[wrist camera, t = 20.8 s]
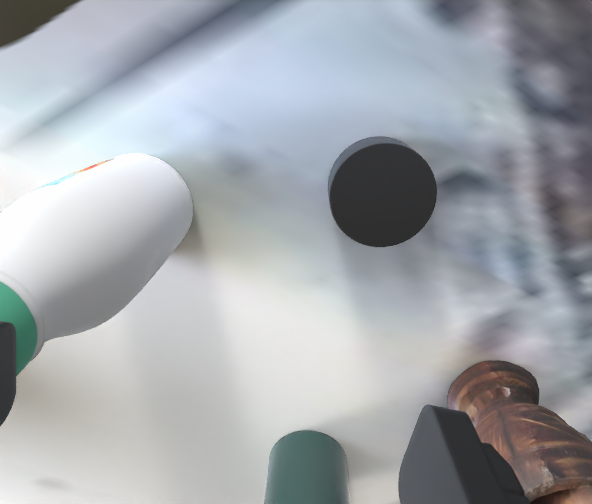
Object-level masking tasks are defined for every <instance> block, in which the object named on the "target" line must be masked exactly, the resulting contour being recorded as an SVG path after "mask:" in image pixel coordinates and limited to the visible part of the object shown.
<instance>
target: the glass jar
mask: <svg viewBox="0 0 592 504" xmlns="http://www.w3.org/2000/svg"><path fill="white" fill-rule="evenodd" d="M264 504H350V498H349V486H348V473H347V461H346V455H345V452H344V450H343V449H342V447H341V446H340V444H339V443H338V442H337V441H335V440H334V439H333V438H331V437H330V436H328V435H326V434H323V433H320V432H316V431H298V432H294V433H291V434H288V435H286V436H284V437H283V438H281V439H280V440H279V441H278V442H277V443H276V444H275V445H274V447H273V448H272V450H271V453H270V458H269V466H268V474H267V483H266V491H265V499H264Z"/></svg>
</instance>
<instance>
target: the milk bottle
mask: <svg viewBox="0 0 592 504" xmlns="http://www.w3.org/2000/svg"><path fill="white" fill-rule="evenodd" d="M192 218H193V203H192V198H191V194H190V192H189V189H188V187H187V185H186V183H185V182H184V180H183V179H182V177H181V176H180V175H179V174H178V173H177V171H176V170H174V169H173V168H172V167H171V166H170V165H168V164H167V163H165V162H164V161H162V160H160V159H158V158H156V157H153V156H150V155H146V154H139V153H131V154H124V155H120V156H117V157H114V158H111V159H108V160H106V161H103V162H101V163H98V164H95V165H93V166H90V167H88V168H85V169H83V170H80V171H78V172H75V173H73V174H71V175H68V176H66V177H63V178H61V179H59V180H56V181H54V182H52V183H49V184H47V185H45V186H43V187H41V188H39V189H37V190H35V191H32V192H30V193H28V194H26V195H25V196H23V197H21V198H20V199H18V200H17V201H15V202H14V203H13V204H11V205H10V206H9V207H7V208H6V209H5V210H4V211H3V212H2V213H1V214H0V321H4V322H9V323H12V324H13V325H14V327H15V329H16V376H17V375H18V374H19V373H20V372H21V371H22V370H23V369H24V367H25V366H26V365H27V364H28V363H29V362H30V361H31V360H33V359H34V358H35V357H36V356H37V355H38V353H39V352H40V351H41V349H42V347H43V344H44V342H46V341H48V340H51V339H54V338H58V337H63V336H69V335H73V334H77V333H81V332H84V331H86V330H89V329H92V328H94V327H96V326H98V325H100V324H102V323H104V322H106V321H107V320H109V319H110V318H112V317H113V316H114V315H116V314H117V313H118V312H120V311H121V310H122V309H123V308H124V307H125V306H126V305H127V304H128V303H129V302H130V301H131V300H132V299H133V298H134V297H135V296H136V295H137V294H138V293H139V292H140V291H141V290H142V289H143V287H144V286H145V285H146V284H147V283H148V281H149V280H150V279H151V278H152V277H153V276H154V274H155V273H156V272H157V271H158V270H159V269H160V267H161V266H162V265H163V264H164V262H165V261H166V260H167V259H168V258H169V256H170V255H171V254H172V253H173V251H174V250H175V249H176V248H177V247H178V245H179V244H180V243H181V241H182V240H183V239H184V237H185V236H186V234H187V232H188V231H189V228H190V226H191V223H192Z"/></svg>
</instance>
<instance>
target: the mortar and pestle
mask: <svg viewBox="0 0 592 504" xmlns="http://www.w3.org/2000/svg"><path fill="white" fill-rule="evenodd" d="M538 402H539V388H538V385H537V381H536V379H535V377H534V376H532V374H531V373H530V372H528V371H527V370H525V369H524V368H522V367H520V366H517V365H515V364H512V363H509V362H505V361H484V362H480V363H478V364H476V365H474V366H472V367H470V368H468V369H467V370H465V371H464V372H463V373H462V374H461V375H460V376H459V377H458V378H457V379H456V380H455V381H454V382H453V384H452V385H451V387H450V389H449V391H448V397H447V403H448V408H449V409H453V410H458V411H463V412H466V413H467V414H468V415H469V417H470V419H471V421H472V423H473V425H474V427H475V430H476V432H477V434H478V436H479V438H480V440H481V442H483V443H489V444H491V445H492V446H493V447H494V448H495V449H496V450H497V451H498V453H499V454H500V455H501V456H502V457H503V458H504V459H505V460H506V461H507V462H508V463H509V464H510V466H511V467H512V468H513V470H514V472H515V474H516V476H517V478H518V480H519V482H520V484H521V486H522V488H523V490H524V491H525V493H524V496H525V497H528V499H529V501H530V503H531V504H592V442H591V441H590V440H589V439H588V438H587V437H586V436H585V435H584V434H582V433H580V432H578V431H577V430H575V429H574V428H572V427H571V426H569V425H568V424H567V423H566V422H565V421H564V420H563V419H562V418H560V417H559V416H558V415H557V414H556V413H554V412H553V411H551V410H549V409H547V408H544V407H542V406H539V405H538Z"/></svg>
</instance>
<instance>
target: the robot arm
mask: <svg viewBox="0 0 592 504" xmlns="http://www.w3.org/2000/svg"><path fill="white" fill-rule="evenodd" d="M15 395H16V329H15V327H14V325H13V324H12V323H9V322H4V321H0V426H1V425H2V424H3V422H4V421H5V419H6V418H7V416H8V414H9V412H10V410H11V408H12V405H13V402H14V399H15ZM524 493H525V491H524V490H523V488H522V486H521V484H520V482H519V480H518V478H517V476H516V474H515V472H514V470H513V468H512V467H511V466H510V464H509V463H508V462H507V461H506V460H505V459H504V458H503V457H502V456H501V455H500V454H499V453H498V451H497V450H496V449H495V448H494V447H493V446H492V445H491V444H489V443H483V442H481V440H480V438H479V436H478V434H477V432H476V430H475V427H474V425H473V423H472V421H471V419H470V417H469V415H468V414H467V413H466V412H463V411H458V410H453V409H448V408H443V407H438V406H432V405H426V406H425V407H424V408H423V409H422V411H421V413H420V416H419V418H418V421H417V423H416V426H415V429H414V431H413V434H412V437H411V439H410V442H409V445H408V447H407V450H406V453H405V455H404V458H403V461H402V464H401V467H400V472H399V498H400V503H401V504H531V503H530V501H529V499H528V497H525V496H524Z"/></svg>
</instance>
